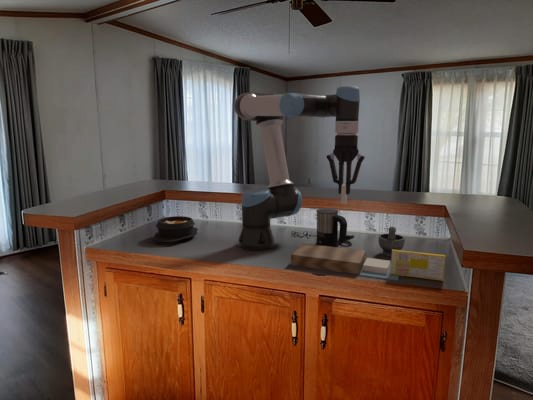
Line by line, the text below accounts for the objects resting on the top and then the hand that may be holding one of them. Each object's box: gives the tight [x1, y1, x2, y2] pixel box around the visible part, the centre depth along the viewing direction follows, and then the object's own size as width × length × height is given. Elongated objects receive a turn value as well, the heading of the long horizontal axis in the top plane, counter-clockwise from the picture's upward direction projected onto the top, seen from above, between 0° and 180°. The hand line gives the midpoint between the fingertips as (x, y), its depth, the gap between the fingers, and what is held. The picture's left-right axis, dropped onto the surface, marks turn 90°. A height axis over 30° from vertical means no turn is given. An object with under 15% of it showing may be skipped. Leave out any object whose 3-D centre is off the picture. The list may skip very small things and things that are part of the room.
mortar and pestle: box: [378, 226, 406, 257], centre depth 146 cm, size 11×9×12 cm
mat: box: [359, 261, 400, 282], centre depth 131 cm, size 12×16×1 cm
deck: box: [290, 243, 367, 275], centre depth 138 cm, size 24×14×4 cm, turn 68°
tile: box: [362, 257, 391, 274], centre depth 131 cm, size 8×8×2 cm
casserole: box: [151, 215, 199, 243], centre depth 170 cm, size 25×19×8 cm
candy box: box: [390, 249, 446, 282], centre depth 124 cm, size 16×2×8 cm, turn 72°
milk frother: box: [315, 208, 355, 247], centre depth 160 cm, size 14×16×15 cm
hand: (343, 203), depth 132 cm, fingers closed
